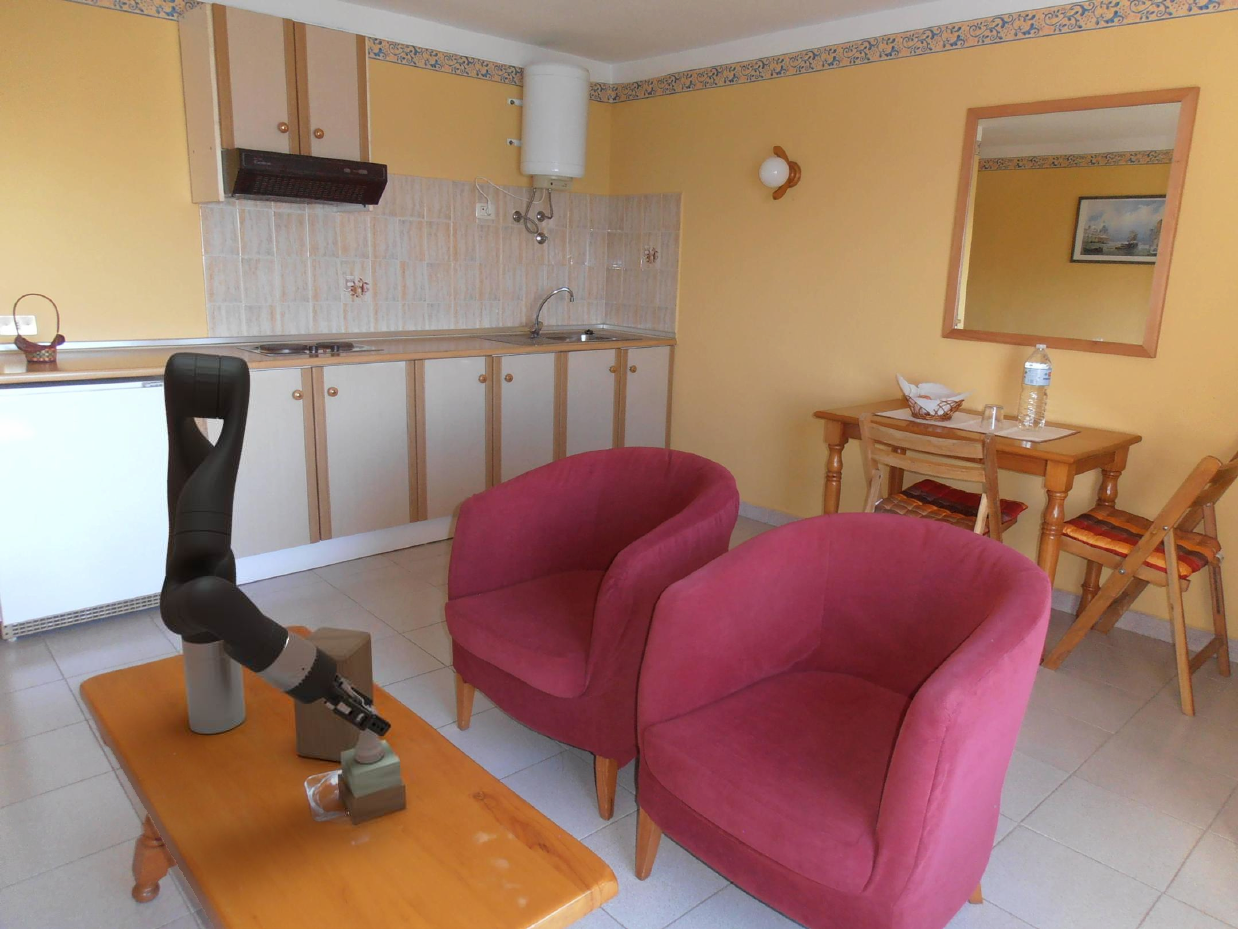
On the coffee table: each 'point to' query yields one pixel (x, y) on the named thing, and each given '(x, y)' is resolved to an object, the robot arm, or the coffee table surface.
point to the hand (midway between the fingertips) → (377, 717)
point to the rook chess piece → (368, 745)
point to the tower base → (371, 802)
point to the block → (317, 721)
